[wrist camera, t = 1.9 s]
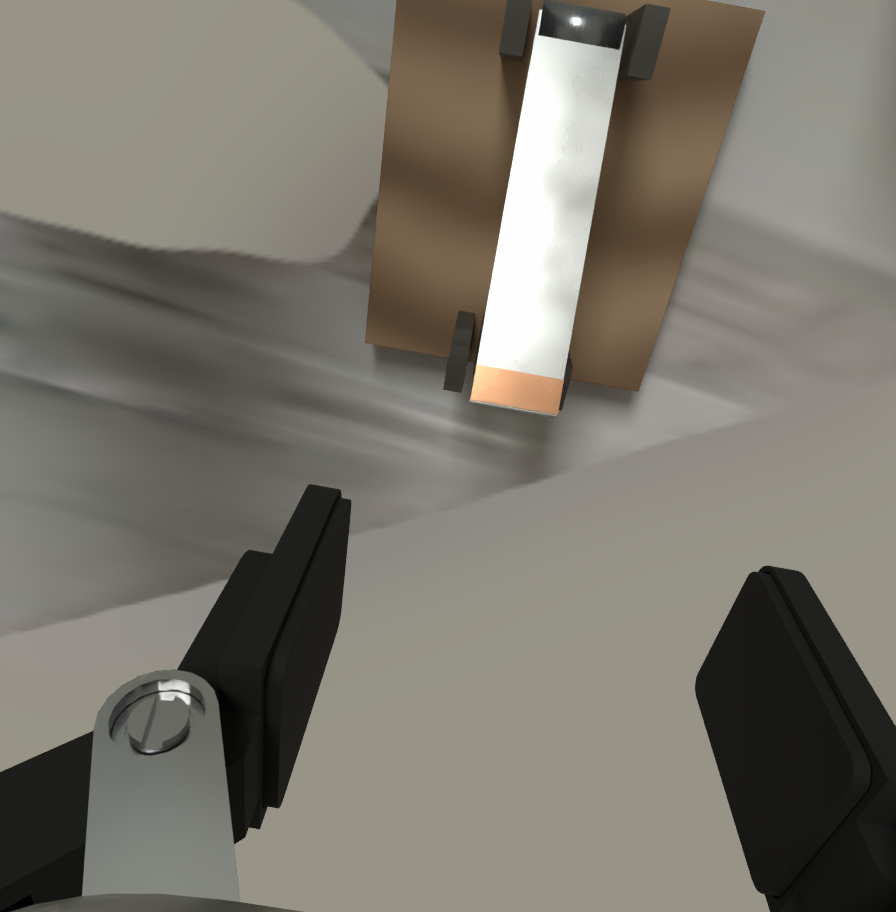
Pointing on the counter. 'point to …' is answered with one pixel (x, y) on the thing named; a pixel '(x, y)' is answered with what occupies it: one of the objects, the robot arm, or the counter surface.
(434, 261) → the clamp board
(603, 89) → the strap
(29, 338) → the counter surface
